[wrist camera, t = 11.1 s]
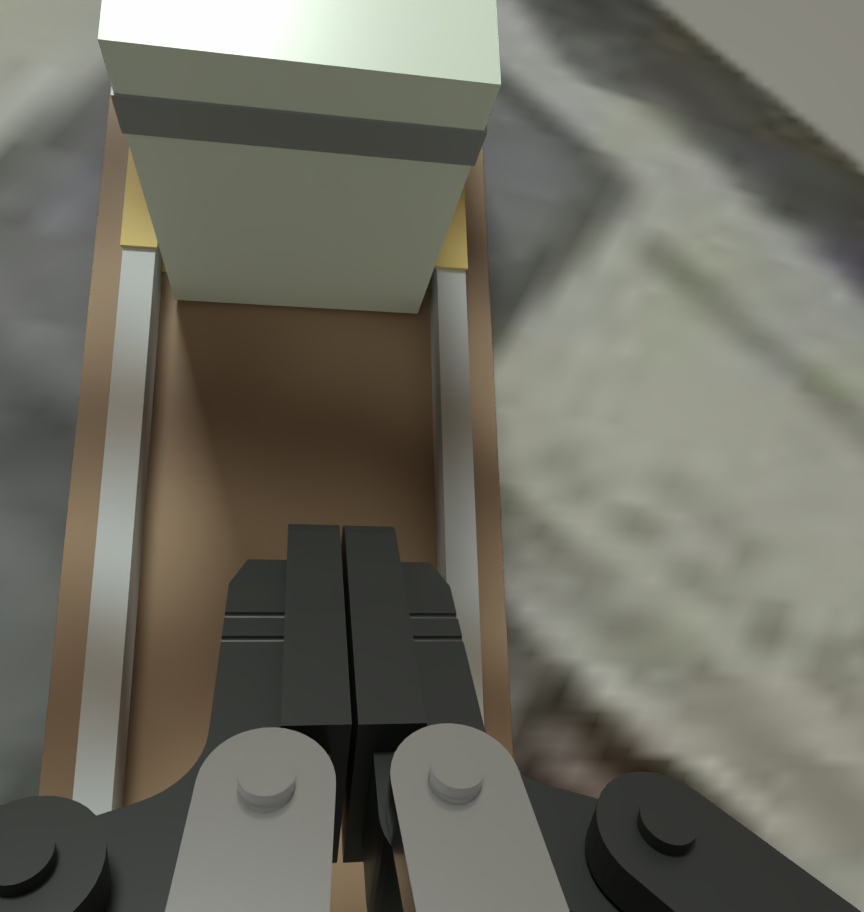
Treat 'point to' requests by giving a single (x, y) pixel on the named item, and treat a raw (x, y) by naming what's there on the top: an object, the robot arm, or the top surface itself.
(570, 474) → the top surface
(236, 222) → the sliding block
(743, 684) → the top surface
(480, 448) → the rail base
